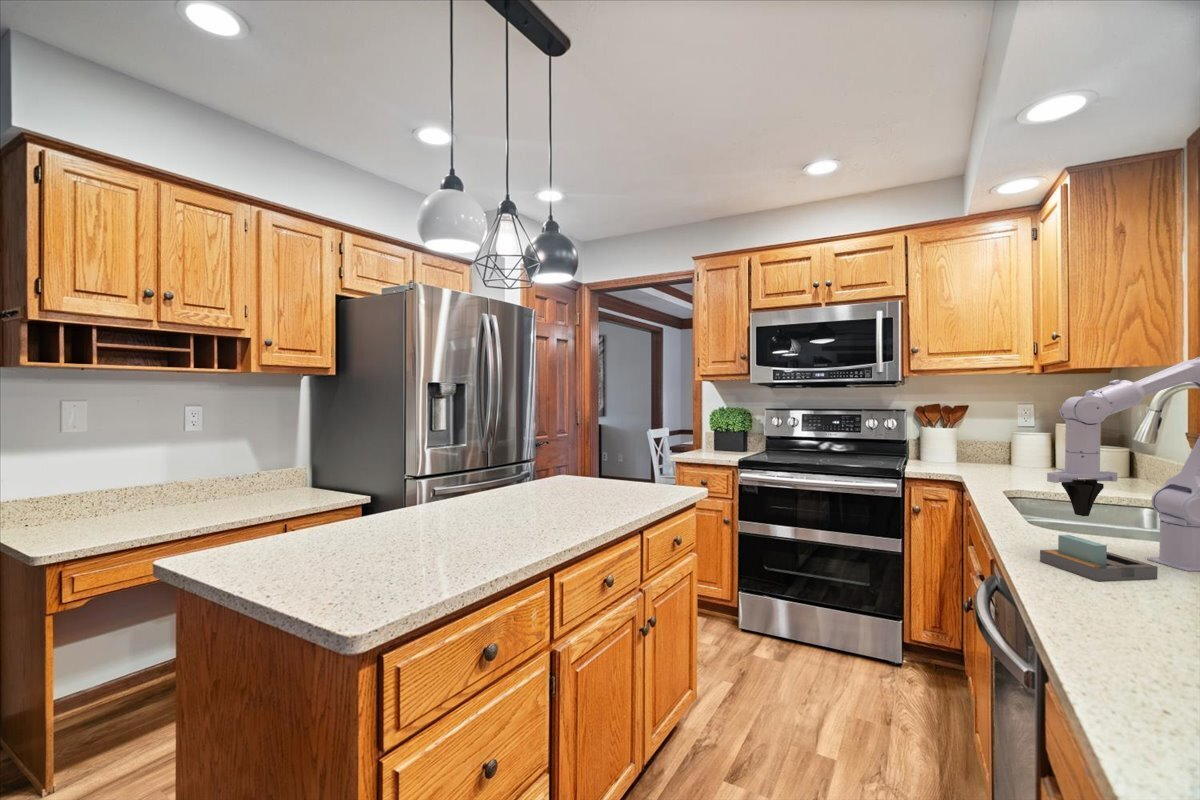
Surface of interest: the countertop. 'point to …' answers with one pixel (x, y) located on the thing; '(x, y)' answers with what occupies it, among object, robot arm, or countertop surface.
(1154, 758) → the countertop surface
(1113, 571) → the panel rack
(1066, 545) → the panel
